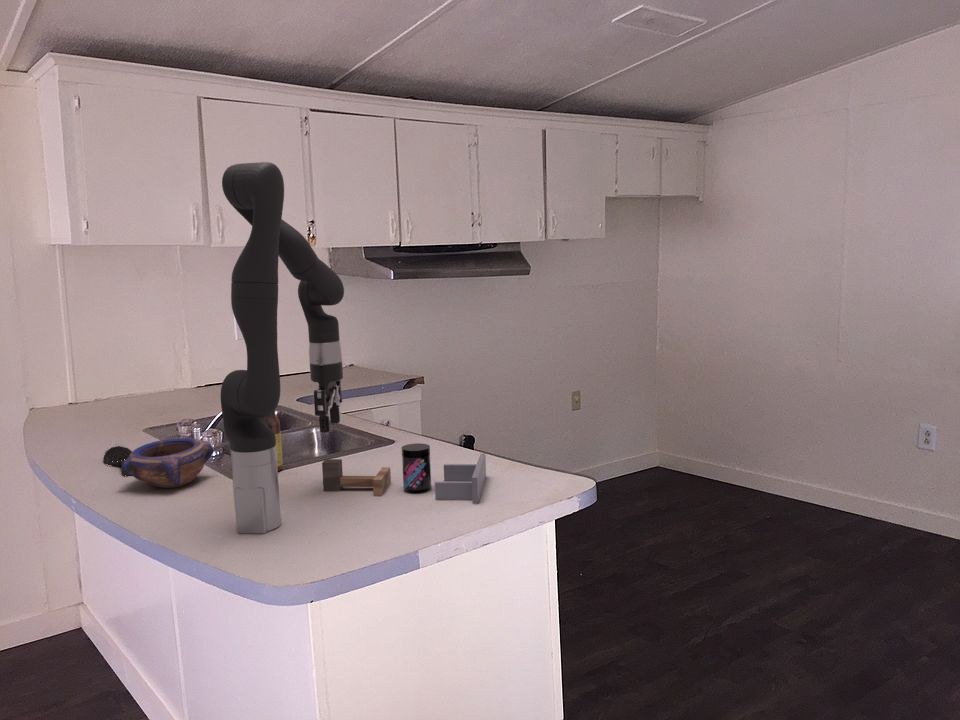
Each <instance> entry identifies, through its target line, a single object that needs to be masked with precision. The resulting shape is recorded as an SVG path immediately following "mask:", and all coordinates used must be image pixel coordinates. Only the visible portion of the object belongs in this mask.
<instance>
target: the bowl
mask: <svg viewBox="0 0 960 720" xmlns="http://www.w3.org/2000/svg"><path fill="white" fill-rule="evenodd" d="M213 448H214V447H213V446H212V444H211V443H210V441H206V440H203V439H198V438H194V437H173V438H172V437H171V438H164V439H160V440H156V441H152V442H150V443H149V442H148V443H146V444H142V445H141V446H139V447H137V448H135V449H134V450H131V451H132V453H131V454H130V456H129V457H128V458H127V459H126V460H125V461H124V462H123V467H124V469H125V470H126V471H127V472H128V473H129V474H130V475H132V476H131V477H133V478H134V479H136V480H138V481H140V482H141V481H142V482H144V483H146V484H149V485H150V486H152V487H157V488H164V489H166V488H167V489H168V488H169V489H171V488H180V487H182V486H185V485H187V484H189V483H192V481H194V479H195V478H197V476H198V475H199V474H200V473H201V472H202V470H203V468H204V466H205V464H206V463H207V461H209V459H210V458H211V457H212V456H213V454H214V452H215V451H214V449H213Z"/></svg>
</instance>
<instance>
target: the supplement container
mask: <svg viewBox="0 0 960 720" xmlns="http://www.w3.org/2000/svg"><path fill="white" fill-rule="evenodd" d="M401 463H402V464H401V465H402V484H403V490H404V491H405V492H406V493H409V494H422V492H423V493H426V492H429V491H430V490H431V488H432V472H431V471H432V469H431V467H432V466H431V445H429V444H427V443H419V442H418V443H407V444H404V445H402V447H401Z"/></svg>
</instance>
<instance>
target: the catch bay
mask: <svg viewBox="0 0 960 720" xmlns="http://www.w3.org/2000/svg"><path fill="white" fill-rule="evenodd" d="M486 460H487V459H486V453H480V454H479V457H478V460H477V463H474V464H473V463H467V464H466V463H465V464H464V463H447V464H446V463H444V464H443V481H434V495H435V500H436V501H439V499H440V501H458V500H459V501H463V500H464V501H472V504H473V503H478V504H479V502H478V501H480V498H481V496H482V495H481V494H482V492H481V491H483V489H484V485H485V482H486V478H487V463H486ZM482 488H483V489H482ZM442 499H443V500H442ZM468 499H469V500H468ZM471 499H472V500H471Z"/></svg>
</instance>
